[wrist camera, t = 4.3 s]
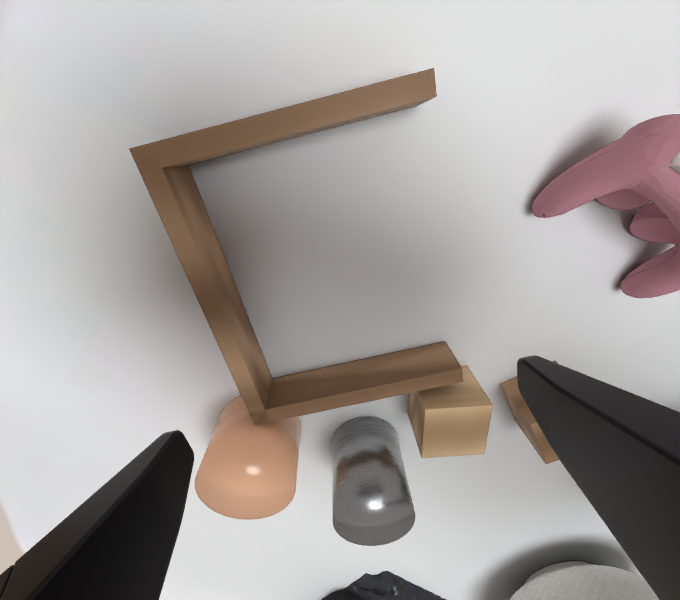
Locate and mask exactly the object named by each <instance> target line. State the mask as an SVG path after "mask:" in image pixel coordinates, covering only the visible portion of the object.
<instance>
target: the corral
mask: <svg viewBox="0 0 680 600" xmlns="http://www.w3.org/2000/svg"><path fill="white" fill-rule="evenodd" d="M436 96H437V95H436V84H435V74H434V68H432V69H428V70H424V71H421V72H417V73H413V74H409V75H406V76H402V77H398V78H394V79H391V80H387V81H383V82H379V83H375V84H372V85H368V86H364V87H360V88H357V89H353V90H349V91H345V92H341V93H338V94H334V95H330V96H326V97H323V98H319V99H315V100H311V101H307V102H304V103H300V104H296V105H292V106H289V107H285V108H281V109H277V110H274V111H270V112H266V113H262V114H258V115H255V116H251V117H247V118H243V119H240V120H236V121H232V122H228V123H224V124H221V125H217V126H213V127H209V128H206V129H202V130H198V131H194V132H191V133H187V134H183V135H179V136H175V137H172V138H168V139H164V140H160V141H157V142H153V143H149V144H145V145H141V146H138V147H134V148H130V149H129V150H130V152H131V154H132V156H133V158H134V161H135V163H136V165H137V167H138V169H139V172H140V174H141V176H142V178H143V180H144V183H145V185H146V187H147V189H148V191H149V194H150V196H151V198H152V200H153V202H154V205H155V207H156V209H157V211H158V213H159V216H160V218H161V220H162V222H163V224H164V227H165V229H166V231H167V233H168V235H169V238H170V240H171V242H172V244H173V246H174V249H175V251H176V253H177V255H178V257H179V260H180V262H181V264H182V266H183V268H184V271H185V273H186V275H187V277H188V279H189V282H190V284H191V286H192V288H193V290H194V293H195V295H196V297H197V299H198V301H199V304H200V306H201V308H202V310H203V313H204V315H205V317H206V319H207V321H208V324H209V326H210V328H211V330H212V332H213V335H214V337H215V339H216V341H217V343H218V346H219V348H220V350H221V352H222V354H223V357H224V359H225V361H226V363H227V365H228V368H229V370H230V372H231V374H232V376H233V379H234V381H235V383H236V385H237V387H238V390H239V392H240V394H241V396H242V398H243V401H244V403H245V405H246V407H247V409H248V412H249V414H250V416H251V418H252V420H253V423H254V425H258V424H263V423H268V422H272V421H277V420H282V419H287V418H292V417H296V416H301V415H306V414H311V413H316V412H320V411H325V410H330V409H335V408H340V407H344V406H349V405H354V404H359V403H364V402H368V401H373V400H378V399H383V398H388V397H392V396H397V395H402V394H407V393H412V392H416V391H421V390H426V389H431V388H436V387H440V386H445V385H450V384H455V383H460V382H463V373H462V367H461V366H460V364H459V363H458V361H457V359H456V358H455V356H454V355H453V353H452V351H451V350H450V348H449V347H448V345H447V343H446V342H440V343H436V344H431V345H426V346H422V347H417V348H412V349H408V350H403V351H398V352H394V353H389V354H385V355H380V356H375V357H371V358H366V359H361V360H357V361H352V362H348V363H343V364H338V365H334V366H329V367H324V368H320V369H315V370H311V371H306V372H301V373H297V374H292V375H287V376H283V377H278V378H274V379H272V377H271V374H270V372H269V369H268V367H267V364H266V361H265V359H264V356H263V354H262V351H261V349H260V346H259V344H258V341H257V339H256V336H255V333H254V331H253V328H252V326H251V323H250V321H249V318H248V316H247V313H246V311H245V308H244V306H243V303H242V300H241V298H240V295H239V293H238V290H237V288H236V285H235V283H234V280H233V278H232V275H231V272H230V270H229V267H228V265H227V262H226V260H225V257H224V255H223V252H222V250H221V247H220V244H219V242H218V239H217V237H216V234H215V232H214V229H213V227H212V224H211V222H210V219H209V216H208V214H207V211H206V209H205V206H204V204H203V201H202V199H201V196H200V194H199V191H198V189H197V186H196V183H195V181H194V178H193V176H192V173H191V171H190V168H189V166H188V165H190V164H194V163H198V162H202V161H206V160H210V159H213V158H217V157H221V156H225V155H229V154H233V153H237V152H240V151H244V150H248V149H252V148H256V147H260V146H264V145H267V144H271V143H275V142H279V141H283V140H287V139H291V138H294V137H298V136H302V135H306V134H310V133H314V132H318V131H321V130H325V129H329V128H333V127H337V126H341V125H345V124H348V123H352V122H356V121H360V120H364V119H368V118H372V117H376V116H379V115H383V114H387V113H391V112H395V111H399V110H403V109H406V108H410V107H414V106H418V105H420V104H422V103H424V102H426V101H428V100H430V99H432V98H434V97H436Z"/></svg>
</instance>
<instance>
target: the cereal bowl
mask: <svg viewBox="0 0 680 600" xmlns="http://www.w3.org/2000/svg"><path fill="white" fill-rule="evenodd" d="M509 600H659V598H658V597H657V596H656V594H655V593H654V591H653V590H652V589H651V587H650V586H649V584H648V583H647V582H646V580H645V579H644V578H643V577H641V576H640V575H637V574H634V573H633V572H629V571H627V570H624V569H619V568H616V567H611V566H604V565H591V564H589V563H586V562H581V561H566V562H560V563H556V564H552V565H549V566H546V567H544V568H542V569H540V570H538V571H536V572H535V573H533V574H532V575H531V576H530V577H529V578H528V579H527V580H526V581H525V583H524V585H523V586H522V587H520V589H519V590H517V591H516V592H515V594H513V595H512V597H511V598H510V599H509Z"/></svg>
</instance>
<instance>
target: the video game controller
mask: <svg viewBox="0 0 680 600" xmlns="http://www.w3.org/2000/svg"><path fill="white" fill-rule="evenodd" d="M594 199H597V200H598V201H599V202H600V203H601V204H603V205H605V206H607V207H609V208H613V209H618V210H629V209H635V208H638V207H641V206H643V205H645V204H646V203H648V202H649V201H650V200H652V201H653V202H654V203H653V204H649V205H646V206H643V207H641V208H640V209H638V210H637V212H636V214H635V216H634V218H633V220H632V223H631V225H630V231H631V233H632V234H633V235H634V236H636V237H637V238H640V239H643V240H646V241H652V242H662V243H671V244H676V245H675V246H674V247H672V248H671V249H669V250H667V251H666V252H664V253H662V254H660V255H658V256H656V257H654V258H652V259H650V260H648V261H647V262H645V263H643V264H641V265H640V266H639V267H637V268H636V269H634V270H633V271H631V272H630V273H629V274H628V275H627V276H626V277H625V278H624V279H623V281H622V282H621V289H622V291H623V293H625V294H626V295H629V296H632V297H636V298H651V297H657V296H661V295H665V294H668V293H672V292H675V291H678V290H680V114H672V115H664V116H660V117H655V118H652V119H649V120H646V121H644V122H642V123H639V124H637V125H636V126H634V127H632V128H631V129H629V130H628V131H627V132H626V133H625V134H624V135H623V137H622V138H621V139H619V140H617V141H615V142H613V143H611V144H609V145H607V146H606V147H604V148H602V149H600V150H598V151H597V152H595V153H593V154H591V155H590V156H588V157H586V158H584V159H583V160H581V161H579V162H578V163H576V164H575V165H573V166H572V167H570V168H569V169H567V170H566V171H564V172H563V173H561V174H560V175H559V176H557V177H556V178H555V179H554V180H552V181H551V182H550V183H549V184H548V185H547V186H546V187H545V188H544V189H543V190H542V191H541V192H540V193H539V194H538V196H537V197H536V198H535V200H534V201H533V204H532V212H533V214H534V215H535V216H537V217H541V218H549V217H553V216H557V215H561V214H564V213H566V212H568V211H570V210H572V209H575V208H577V207H579V206H581V205H583V204H585V203H587V202H589V201H592V200H594Z"/></svg>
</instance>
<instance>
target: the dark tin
mask: <svg viewBox="0 0 680 600" xmlns="http://www.w3.org/2000/svg"><path fill="white" fill-rule="evenodd" d="M414 522H415V512H414V507H413V503H412V499H411V495H410V490H409V486H408V482H407V477H406V473H405V469H404V465H403V460H402V456H401V452H400V447H399V443H398V439H397V434H396V432H395V430H394V428H393V427H392V426H391V425H390V424H389V423H387V422H386V421H384V420H382V419H379V418H375V417H358V418H354V419H351V420H349V421H347V422H345V423H344V424H342V425H341V426H340V427H339V428H338V429H337V430H336V432H335V434H334V436H333V526H334V528H335V530H336V532H337V533H338V534H339V535H340V536H341V537H342V538H344V539H345V540H347V541H349V542H352V543H355V544H359V545H366V546H376V545H383V544H387V543H391V542H393V541H396V540H398V539H400V538H401V537H403V536H404V535H406V534H407V533H408V532H409V531H410V529H411V528H412V526H413V524H414Z"/></svg>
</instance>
